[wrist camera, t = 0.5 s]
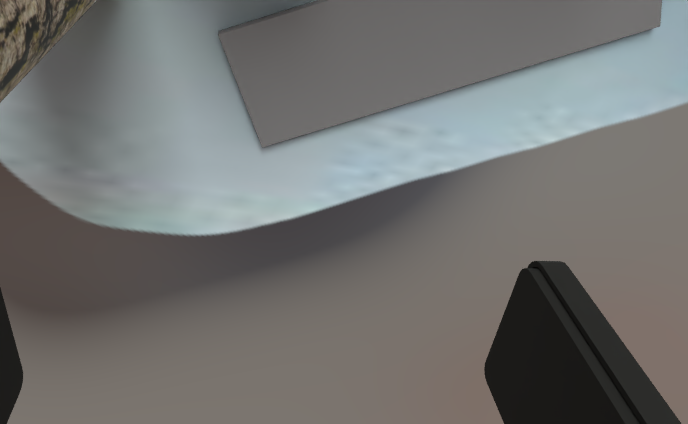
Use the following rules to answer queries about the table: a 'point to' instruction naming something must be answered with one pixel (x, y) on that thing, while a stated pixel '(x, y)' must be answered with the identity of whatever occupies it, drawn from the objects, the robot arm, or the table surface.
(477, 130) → the table surface
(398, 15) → the mat
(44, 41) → the bark covered log
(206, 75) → the table surface
